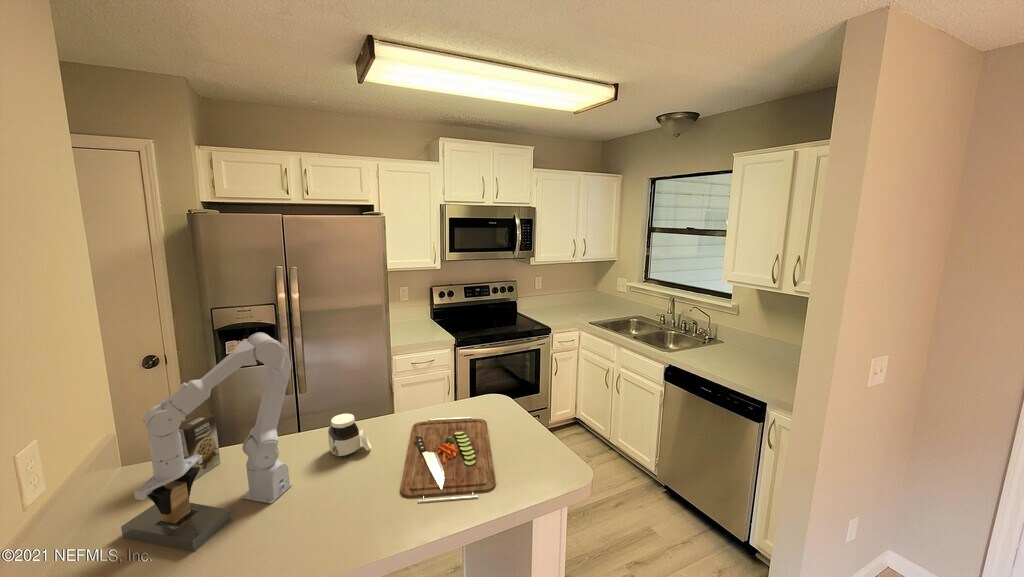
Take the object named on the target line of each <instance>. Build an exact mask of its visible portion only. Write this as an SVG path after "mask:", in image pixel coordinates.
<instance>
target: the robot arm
mask: <svg viewBox="0 0 1024 577" xmlns="http://www.w3.org/2000/svg"><path fill="white" fill-rule="evenodd" d="M257 361H259V362H260V363H261V364H264V366H265V367H266V368H267V370H268V371H267V374H266V379H265V384H264V388H263V390H262V396H261V400H260V404H259V409H258V412H257V417H256V421H255V425H254V426H253V427H252V428H251V429H250V430H249V434H248V437H247V438H246V439H245V440H244V442H243V444H242V451H243V453H244V454H245V455H246V456H247V461H246V464H245V467H246V474H247V485H248V491H247V492H245V493H244V494H243V495H242V496H241V497H240V498H241V499H243V500H248V501H253V502H254V501H255V502H260V503H265V504H273V503H274V502H275V501H277V499H278V498H280V497H281V496H282V495H283V494H284V493H285V492H286V491H288V489H289V488H290V487H292V486H293V483H291V482H290V473H289V466H288V465H287V464H286V463H284V462H282V461H280V460H279V454H280V450H279V448H278V445H279V437H278V430H277V429H278V424H279V421H280V415H281V411H282V408H283V404H284V399H285V395H286V392H287V388H288V382H289V380H290V374H291V370H292V363H291V360H290V358H289V356H288V353H287V348H286V346H284V345H283V344H282V343H281V342H280V341H279V340H277V339H274V338H273V337H271V336H270V335H269V334H267V333H265V332H262V331H261V332H260V331H259V332H255V333H253V334H251V335H250V336H248V338H246V339H244V340H242V341H241V342H240V343H239V344H238V345H237V346H236V347H235V348H234V349H232V351H231V352H230V353H229V354H227V355H226V356H225V357H224V358H223V359H222V360H221V361H220V362H218V363H217V364H216V365H215V366H214V367H213V368H212V369H210V370H209V371H208V372H207V373H205V374H204V376H202V377H201V378H200V379H192V380H189V381H188V382H187V383H186V382H183V383H181V384H180V385H179V388H178V390H177V391H175V392H174V393H172V394H171V395H170V396H169V397H167V398H166V399H165V400H164V399H162V400H161V401H159V404H158V405H156V404H155V405H154V406H152V407H151V408H150V409H148V411H146V413H145V415H144V418H143V423H144V425H146V428H147V430H148V434H147V438H148V439H149V440H148V445H149V453H150V459H151V464H152V465H151V466H152V471H153V472H152V476H150V478H149V479H148V480H147V481H146V482H144V483H143V484H142V485H140V487H139V488H137V489H135V490H134V492H133V493H134V494H133V496H134V499H135V500H138V501H143V500H146V499H147V498H149V499H150V500H151V501H152V502H153V503H154V504H155V505H156V506H157V507H158V509H159V511H160V513H161V514H164V515H168V514H170V513H171V505H170V495H171V491H172V489H167V488H166V487H164V485H166V484H167V483H169V482H171V481H174V480H175V481H181V482H186V483H187V490H188V497H189V498H190V496H191V490H192V487H193V484H194V482H195V480H194V479H195V477H196V475H197V470H196V469H193V468H192V467H193V466H195V465H196V464H200V463H202V455H193V456H192V457H190V458H187V459H185V460H184V454H183V448H182V441H181V434H180V432H179V426H180V424H181V421H183V420H184V418H186V417H187V416H188V415H189V414H191V413H192V412H194V410H196V408H198V407H199V406H201V405H202V404H203V403H204V402H205V401H206V400H208V399H209V398H210V396H211V392H212V389H213V388H214V387H216V386H217V385H218V384H220V383H221V382H222V381H224V380H225V379H226V378H228V377H230V376H231V375H232V374H233V373H235V372H236V371H237V370H238V369H240V368H242V367H245V366H247V367H249V366H256V365H258V363H257Z"/></svg>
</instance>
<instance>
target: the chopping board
mask: <svg viewBox="0 0 1024 577" xmlns="http://www.w3.org/2000/svg"><path fill="white" fill-rule="evenodd" d="M489 434H490V433H489V427H488V422H487V421H486V420H485V419H483V418H472V416H468V417H467V416H466V417H445V418H444V417H443V418H429V419H428V420H427V421H425V420H424V421H418V422H415V423H414V424H413V425H412V427H411V431H410V438H409V441H408V447H407V452H406V456H405V457H406V458H405V462H404V467H403V472H402V478H401V483H400V486H399V487H400V488H399V489H400V495H402V497H405V498H410V499H411V498H422V499H418V500H417V504H424V503H425V504H426V503H438V502H439V503H440V502H451V501H453V502H454V501H463V500H464V501H465V500H477V499H479V495H475V494H476V493H477V494H478V493H486V492H490V491H492V490H494V489H495V487H496V485H497V480H496V472H495V467H494V459H493V454H492V453H493V452H492V445H491V440H490V435H489ZM462 494H464V495H465V494H471V495H469V496H455V497H444V498H433V499H432V498H430V499H425V497H435V496H436V497H437V496H448V495H449V496H450V495H462Z"/></svg>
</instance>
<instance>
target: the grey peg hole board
mask: <svg viewBox="0 0 1024 577" xmlns="http://www.w3.org/2000/svg"><path fill="white" fill-rule="evenodd" d="M189 503H190V510H191V512H189V513H188V514H187V515H185V516H184V517H183V518H184V519H183V518H182V519H183V520H185V521H184V522H182V524H180V525H178V526H177V527H176V528H171V527H170V526H172V525H173V524H174V523H170V522H165V521H161V519H160V513H159V509H158V507H157V506H156V505H155V503H154V504H152V505H151V506H150V507H148V508H147V509H145V510H143V511H142V512H141V513H140V514H139V513H138V514H137V515H136V516H135V517H133V518H132V519H130V520H129V521H127V522H126V523H124V524H123V525H121V527H120V530H121V533H122V538H123V539H126V540H127V539H128V540H134V541H138V542H142V543H148V544H152V545H153V544H154V545H158V546H163V547H166V548H167V547H168V548H173V549H178V550H184V551H188V552H193V553H194V552H196V551H197V550H198V549H200V548H201V547H202V546H204V544H205V543H206V542H208V541H209V540H210V539H211V538H213V537H214V536H215V535H216V534H217V533H218V532H220V530H222V529H223V528H224V527H226V526H227V524H229V523H230V522H232V515H231V509H229V508H228V509H227V508H222V507H216V506H213V505H212V506H210V505H206V504H199V503H195V502H189Z"/></svg>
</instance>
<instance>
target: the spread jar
mask: <svg viewBox="0 0 1024 577" xmlns="http://www.w3.org/2000/svg"><path fill="white" fill-rule="evenodd" d="M327 430H328V431H327V434H328V435H327V436H328V437H327V438H328V445H329V446H328V447H329V451H330V453H331V454H332V456H333V457H334V458H337V459H345V458H349V457H351V456H353V455H355V454H356V453H357V452H358V451H359V450H360V447H361V443H362V445H363V447H364V449H365V451H367V452H369V451H370V450H371V449H372V446H371V445H372V444H371V442H370V440H369V438H368V435H367V433H366V431H365V429H360V430H359V427H358V425H357V423H356V422H355V416H354V415H353V414H351V413H342V414H341V413H340V414H338V415H335V416H333V417H332V418H331V419H330V425H329V428H328V429H327Z"/></svg>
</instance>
